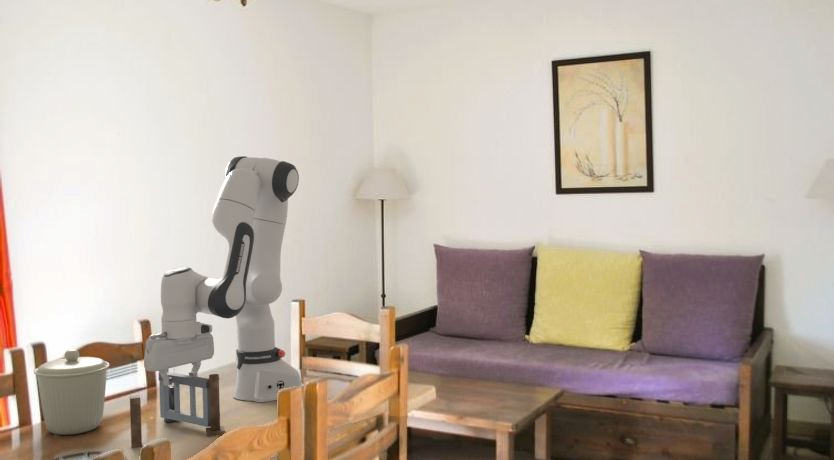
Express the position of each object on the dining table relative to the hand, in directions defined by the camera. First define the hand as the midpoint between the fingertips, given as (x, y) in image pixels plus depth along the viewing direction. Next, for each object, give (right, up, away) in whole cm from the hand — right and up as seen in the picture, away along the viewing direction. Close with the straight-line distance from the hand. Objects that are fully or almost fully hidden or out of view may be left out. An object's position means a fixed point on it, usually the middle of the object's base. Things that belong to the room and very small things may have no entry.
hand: (180, 381), depth 208 cm
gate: (+2, -10, -1) cm, 10 cm away
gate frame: (+3, -12, -11) cm, 16 cm away
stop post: (-4, -11, +6) cm, 13 cm away
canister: (-27, -12, -2) cm, 30 cm away
